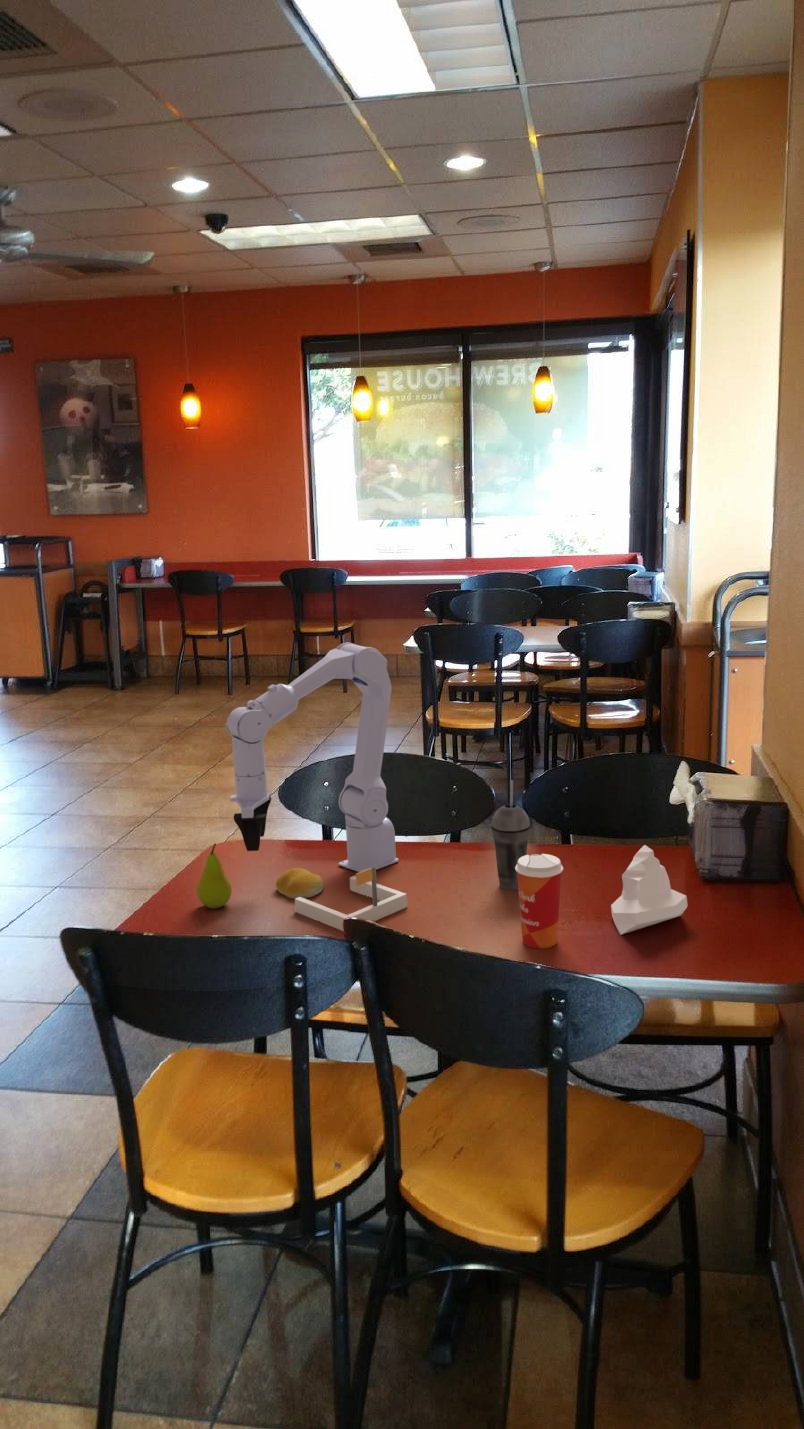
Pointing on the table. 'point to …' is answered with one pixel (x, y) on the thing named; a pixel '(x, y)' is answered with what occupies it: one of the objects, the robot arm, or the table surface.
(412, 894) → the table surface
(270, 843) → the table surface
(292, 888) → the bread roll
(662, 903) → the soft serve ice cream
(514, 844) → the beverage cup
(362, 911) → the pocket
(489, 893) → the table surface
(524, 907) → the paper cup
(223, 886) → the fruit
